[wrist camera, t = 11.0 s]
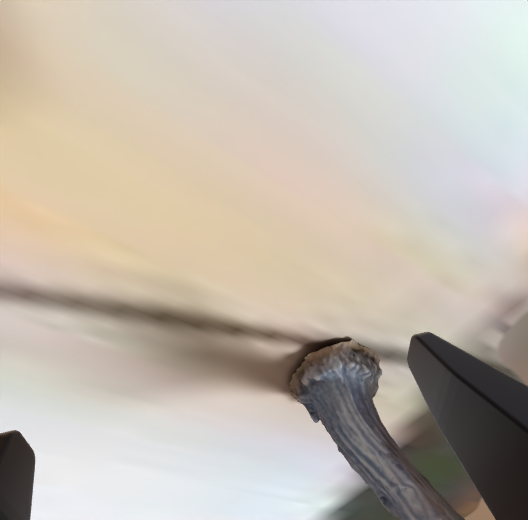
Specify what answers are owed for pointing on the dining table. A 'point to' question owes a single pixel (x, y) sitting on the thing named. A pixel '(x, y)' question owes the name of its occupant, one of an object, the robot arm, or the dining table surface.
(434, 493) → the antler
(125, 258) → the dining table surface
